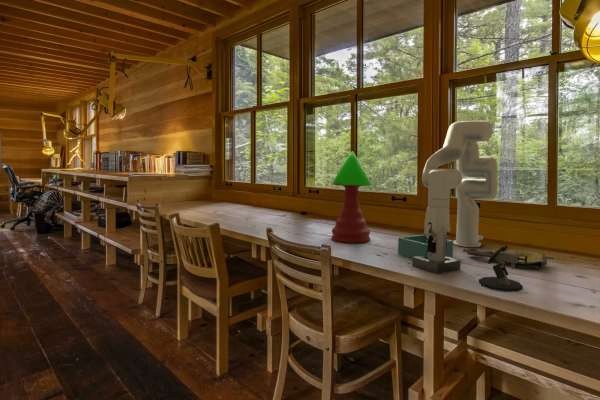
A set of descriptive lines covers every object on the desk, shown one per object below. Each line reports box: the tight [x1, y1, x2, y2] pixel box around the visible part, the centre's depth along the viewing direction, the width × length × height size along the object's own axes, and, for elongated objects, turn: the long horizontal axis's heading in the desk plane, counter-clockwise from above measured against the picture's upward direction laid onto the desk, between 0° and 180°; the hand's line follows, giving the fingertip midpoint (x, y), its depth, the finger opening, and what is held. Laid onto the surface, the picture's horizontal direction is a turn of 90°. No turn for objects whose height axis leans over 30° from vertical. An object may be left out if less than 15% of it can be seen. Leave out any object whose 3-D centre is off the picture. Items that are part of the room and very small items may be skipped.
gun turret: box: [462, 245, 527, 293], centre depth 126 cm, size 13×20×13 cm, turn 41°
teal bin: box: [397, 234, 454, 259], centre depth 164 cm, size 16×16×7 cm
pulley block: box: [466, 248, 555, 271], centre depth 153 cm, size 14×6×30 cm
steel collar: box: [412, 255, 462, 275], centre depth 145 cm, size 12×12×4 cm
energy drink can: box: [428, 227, 446, 262], centre depth 144 cm, size 6×6×15 cm
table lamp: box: [330, 150, 372, 244], centre depth 195 cm, size 20×20×45 cm
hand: (436, 250), depth 145 cm, fingers closed on energy drink can, 6 cm apart
